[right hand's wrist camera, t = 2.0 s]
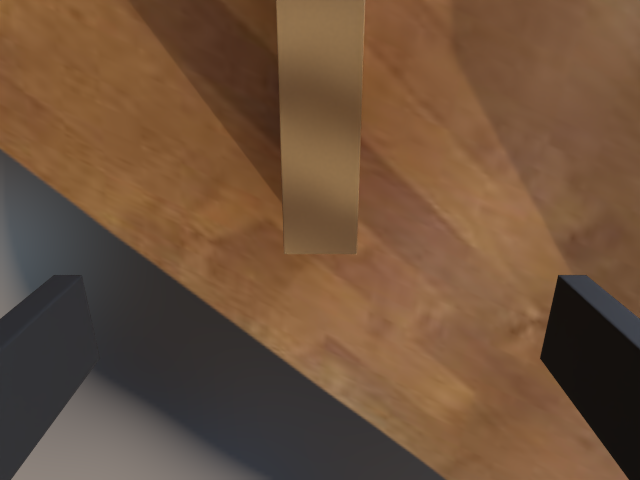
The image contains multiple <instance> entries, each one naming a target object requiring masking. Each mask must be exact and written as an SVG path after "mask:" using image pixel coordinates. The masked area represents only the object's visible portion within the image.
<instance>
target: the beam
mask: <svg viewBox="0 0 640 480" xmlns="http://www.w3.org/2000/svg"><path fill="white" fill-rule="evenodd" d="M276 19H277V50H278V81H279V111H280V142H281V173H282V204H283V235H284V254H357V232H358V202H359V172H360V142H361V112H362V81H363V51H364V21H365V0H276Z"/></svg>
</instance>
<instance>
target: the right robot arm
mask: <svg viewBox="0 0 640 480" xmlns="http://www.w3.org/2000/svg"><path fill="white" fill-rule="evenodd" d="M99 359H100V357H99V352H98V347H97V343H96V338H95V334H94V329H93V325H92V320H91V315H90V311H89V306H88V302H87V297H86V293H85V288H84V283H83V279H82V275H54V276H52V277H51V278H50V279H49V280H48V281H46V282H45V283H44V284H43V285H41V286H40V287H39V288H38V289H36V290H35V291H34V292H33V293H32V294H30V295H29V296H28V297H27V298H25V299H24V300H23V301H22V302H21V303H19V304H18V305H17V306H16V307H14V308H13V309H12V310H11V311H9V312H8V313H7V314H6V315H5V316H3V317H2V318H1V319H0V480H11V479H12V477H13V476H14V475H15V473H16V472H17V471H18V469H19V468H20V466H21V465H22V464H23V462H24V461H25V460H26V458H27V457H28V456H29V454H30V453H31V452H32V450H33V449H34V447H35V446H36V445H37V443H38V442H39V441H40V439H41V438H42V437H43V435H44V434H45V432H46V431H47V430H48V428H49V427H50V426H51V424H52V423H53V422H54V420H55V419H56V417H57V416H58V415H59V413H60V412H61V411H62V409H63V408H64V407H65V405H66V404H67V402H68V401H69V400H70V398H71V397H72V396H73V394H74V393H75V392H76V390H77V389H78V387H79V386H80V385H81V383H82V382H83V381H84V379H85V378H86V377H87V375H88V374H89V372H90V371H91V370H92V368H93V367H94V366H95V364H96V363H97V362H98V360H99ZM540 359H541V360H542V362H543V363H544V364H545V366H546V367H547V368H548V370H549V371H550V373H551V374H552V375H553V377H554V378H555V379H556V381H557V382H558V383H559V385H560V386H561V388H562V389H563V390H564V392H565V393H566V394H567V396H568V397H569V398H570V400H571V401H572V403H573V404H574V405H575V407H576V408H577V409H578V411H579V412H580V413H581V415H582V416H583V417H584V419H585V420H586V422H587V423H588V424H589V426H590V427H591V428H592V430H593V431H594V432H595V434H596V435H597V437H598V438H599V439H600V441H601V442H602V443H603V445H604V446H605V447H606V449H607V450H608V452H609V453H610V454H611V456H612V457H613V458H614V460H615V461H616V462H617V464H618V465H619V467H620V468H621V469H622V471H623V472H624V473H625V475H626V476H627V477H628V479H629V480H640V319H639V318H638V317H637V316H635V315H634V314H633V313H632V312H631V311H629V310H628V309H627V308H626V307H624V306H623V305H622V304H621V303H620V302H618V301H617V300H616V299H615V298H613V297H612V296H611V295H610V294H609V293H607V292H606V291H605V290H604V289H602V288H601V287H600V286H599V285H597V284H596V283H595V282H594V281H593V280H591V279H590V278H589V277H588V276H586V275H558V279H557V283H556V288H555V293H554V297H553V302H552V306H551V311H550V315H549V320H548V325H547V329H546V334H545V338H544V343H543V347H542V352H541V357H540Z"/></svg>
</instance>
